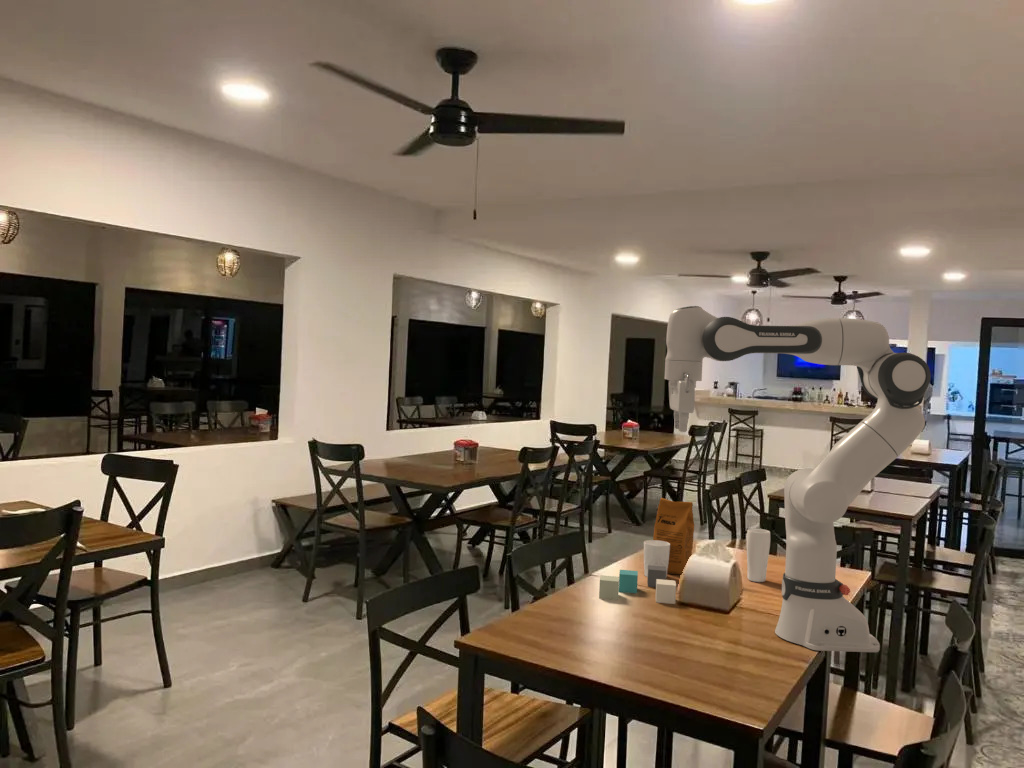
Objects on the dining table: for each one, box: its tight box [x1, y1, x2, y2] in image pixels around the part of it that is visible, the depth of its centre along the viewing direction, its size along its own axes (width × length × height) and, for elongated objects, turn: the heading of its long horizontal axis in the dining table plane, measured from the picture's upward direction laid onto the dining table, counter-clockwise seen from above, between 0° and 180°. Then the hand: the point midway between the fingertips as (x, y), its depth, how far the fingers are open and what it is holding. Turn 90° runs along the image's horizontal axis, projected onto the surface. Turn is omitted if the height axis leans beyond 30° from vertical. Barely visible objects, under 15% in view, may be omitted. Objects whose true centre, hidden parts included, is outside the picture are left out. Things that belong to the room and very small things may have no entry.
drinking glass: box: [746, 528, 771, 583], centre depth 229 cm, size 7×7×15 cm
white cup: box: [643, 539, 670, 578], centre depth 229 cm, size 8×8×10 cm
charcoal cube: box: [646, 565, 667, 588], centre depth 219 cm, size 5×5×5 cm
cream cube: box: [655, 579, 677, 605], centre depth 204 cm, size 5×5×5 cm
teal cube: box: [618, 569, 639, 594], centre depth 212 cm, size 5×5×5 cm
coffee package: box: [652, 497, 695, 576], centre depth 237 cm, size 10×12×22 cm
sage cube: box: [598, 574, 620, 601], centre depth 205 cm, size 5×5×5 cm
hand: (680, 430), depth 185 cm, fingers open, 8 cm apart
